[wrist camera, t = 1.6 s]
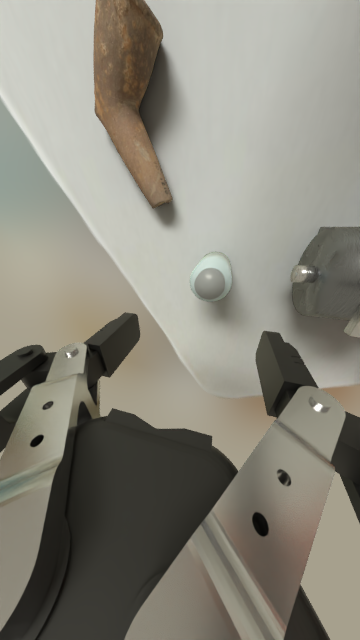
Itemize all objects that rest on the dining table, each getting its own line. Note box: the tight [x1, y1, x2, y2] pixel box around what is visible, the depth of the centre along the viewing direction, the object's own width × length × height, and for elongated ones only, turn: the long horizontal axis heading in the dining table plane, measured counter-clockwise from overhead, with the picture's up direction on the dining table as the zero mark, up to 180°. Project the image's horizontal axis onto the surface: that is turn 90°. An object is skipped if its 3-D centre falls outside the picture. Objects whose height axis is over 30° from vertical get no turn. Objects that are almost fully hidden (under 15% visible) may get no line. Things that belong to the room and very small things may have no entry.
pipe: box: [94, 0, 173, 208], centre depth 18 cm, size 6×17×10 cm
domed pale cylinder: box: [190, 252, 232, 302], centre depth 23 cm, size 5×5×9 cm
